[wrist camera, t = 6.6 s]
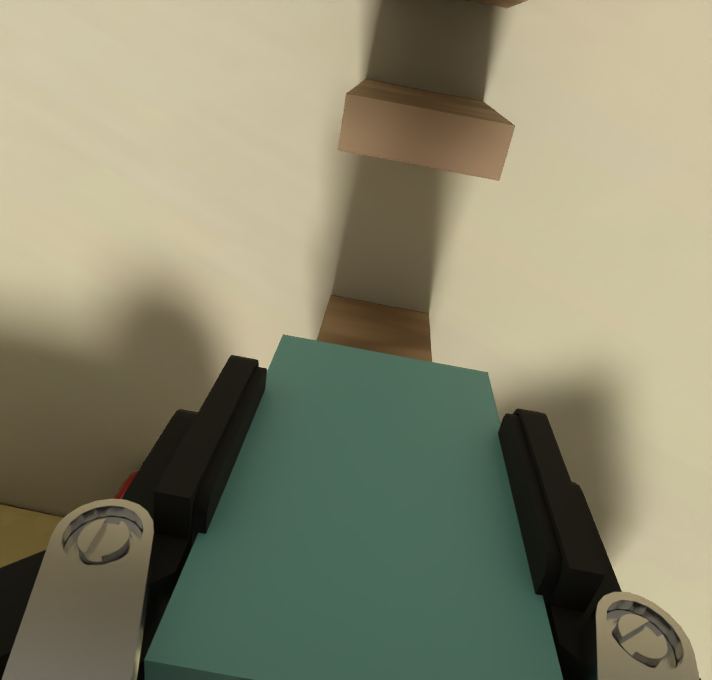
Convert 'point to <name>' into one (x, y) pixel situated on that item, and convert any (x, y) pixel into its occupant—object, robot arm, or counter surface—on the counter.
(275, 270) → the counter surface
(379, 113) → the tile
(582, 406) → the counter surface
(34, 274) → the counter surface
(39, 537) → the cheese
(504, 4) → the brown flat rectangular block
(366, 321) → the tile
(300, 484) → the tile
